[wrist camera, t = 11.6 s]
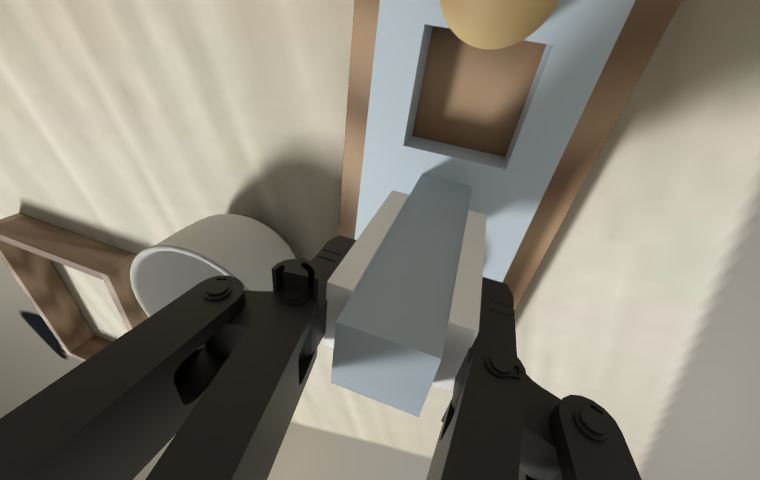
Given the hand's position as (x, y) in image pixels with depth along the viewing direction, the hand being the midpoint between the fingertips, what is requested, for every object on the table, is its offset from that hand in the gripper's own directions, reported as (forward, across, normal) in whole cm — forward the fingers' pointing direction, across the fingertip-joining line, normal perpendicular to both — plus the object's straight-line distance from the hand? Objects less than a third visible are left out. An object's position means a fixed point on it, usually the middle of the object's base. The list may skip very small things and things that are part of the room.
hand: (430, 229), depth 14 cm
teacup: (+7, -14, -13) cm, 20 cm away
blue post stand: (+5, 0, +1) cm, 5 cm away
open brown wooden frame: (+7, -39, -29) cm, 49 cm away
